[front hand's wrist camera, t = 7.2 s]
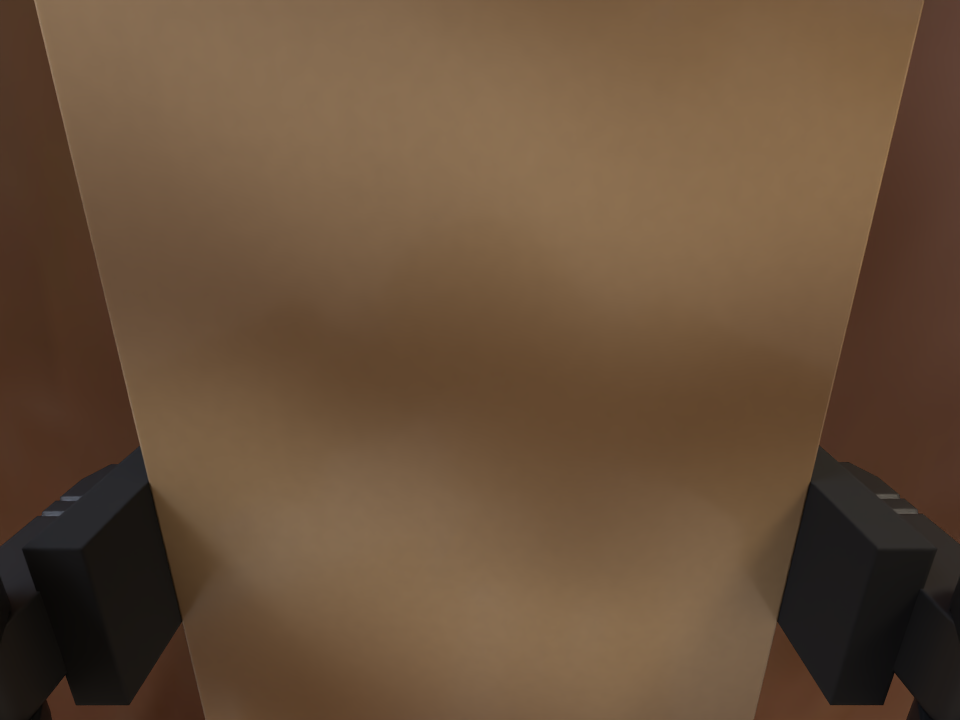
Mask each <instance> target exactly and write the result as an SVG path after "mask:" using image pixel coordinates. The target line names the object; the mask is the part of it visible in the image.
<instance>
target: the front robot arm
mask: <svg viewBox="0 0 960 720" xmlns="http://www.w3.org/2000/svg"><path fill="white" fill-rule="evenodd" d="M181 622H182V619H181V615H180V611H179V606H178V602H177V598H176V594H175V590H174V585H173V581H172V577H171V573H170V569H169V564H168V560H167V556H166V552H165V548H164V543H163V539H162V535H161V531H160V527H159V522H158V518H157V514H156V510H155V506H154V501H153V497H152V493H151V489H150V485H149V480H148V476H147V472H146V468H145V464H144V459H143V455H142V451H141V447H140V446H139V447H138V448H137V449H136V450H134V451H133V452H132V453H131V454H130V455H129V456H128V457H126V458H125V459H124V460H123V461H122V462H121V463H119V464H111V465H109V466H107V467H105V468H103V469H101V470H99V471H97V472H95V473H93V474H91V475H89V476H87V477H86V478H84V479H82V480H81V481H79V482H78V483H77V484H76V485H74V486H73V487H72V488H71V489H70V490H68V491H67V492H66V493H65V494H64V495H62V496H61V497H60V501H55V502H54V503H53V504H51V505H50V506H49V507H48V508H47V509H45V510H44V511H43V512H42V516H37V517H36V518H35V519H33V520H32V521H31V522H30V523H28V524H27V525H26V526H25V527H24V528H22V529H21V530H20V531H19V532H18V533H16V534H15V535H14V536H13V537H12V538H10V539H9V540H8V541H7V542H5V543H4V544H3V545H2V546H1V547H0V720H52V718H51V712H50V709H49V706H48V703H47V701H46V699H47V697H48V696H49V695H50V694H51V692H52V691H53V690H54V689H55V687H56V686H57V685H58V684H59V682H60V681H61V680H62V679H63V677H64V676H65V675H66V678H67V681H68V684H69V687H70V689H71V692H72V695H73V698H74V701H75V704H76V705H129V704H130V703H131V701H132V700H133V698H134V697H135V695H136V693H137V692H138V690H139V689H140V687H141V685H142V684H143V682H144V681H145V679H146V678H147V676H148V674H149V673H150V671H151V670H152V668H153V666H154V665H155V663H156V662H157V660H158V659H159V657H160V655H161V654H162V652H163V651H164V649H165V647H166V646H167V644H168V643H169V641H170V640H171V638H172V636H173V635H174V633H175V632H176V630H177V628H178V627H179V625H180V624H181ZM777 622H778V623H779V625H780V626H781V628H782V629H783V631H784V633H785V634H786V636H787V637H788V639H789V641H790V642H791V644H792V645H793V647H794V648H795V650H796V652H797V653H798V655H799V656H800V658H801V660H802V661H803V663H804V664H805V666H806V667H807V669H808V671H809V672H810V674H811V675H812V677H813V679H814V680H815V682H816V683H817V685H818V686H819V688H820V690H821V691H822V693H823V694H824V696H825V697H826V699H827V701H828V702H829V704H830V705H884V702H885V699H886V696H887V693H888V690H889V687H890V684H891V681H892V679H893V676H894V673H895V674H896V675H897V676H898V677H899V679H900V680H901V681H902V682H903V684H904V685H905V686H906V687H907V689H908V690H909V691H910V693H911V694H912V695H913V696H914V701H913V703H912V706H911V709H910V711H909V714H908V717H907V719H906V720H960V544H959V543H957V542H956V541H955V540H954V539H953V538H951V537H950V536H949V535H948V534H946V533H945V532H944V531H943V530H942V529H940V528H939V527H938V526H937V525H936V524H934V523H933V522H932V521H931V520H929V519H928V518H927V517H926V516H925V515H923V514H918V510H917V509H916V508H915V507H914V506H912V505H911V504H910V503H909V502H907V501H906V500H905V499H900V495H899V494H898V493H897V492H895V491H894V490H893V489H892V488H890V487H889V486H888V485H887V484H886V483H884V482H883V481H882V480H881V479H879V478H878V477H876V476H874V475H872V474H871V473H869V472H867V471H865V470H863V469H861V468H859V467H857V466H855V465H853V464H851V463H849V462H838V461H836V460H835V459H834V458H833V457H832V456H831V455H830V454H828V453H827V452H826V451H825V450H824V449H823V448H821V447H820V446H819V447H818V451H817V456H816V460H815V464H814V468H813V473H812V477H811V481H810V485H809V489H808V494H807V498H806V502H805V506H804V510H803V515H802V519H801V523H800V527H799V532H798V536H797V540H796V544H795V548H794V553H793V557H792V561H791V565H790V570H789V574H788V578H787V582H786V586H785V591H784V595H783V599H782V603H781V607H780V612H779V616H778V620H777Z"/></svg>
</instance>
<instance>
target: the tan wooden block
mask: <svg viewBox="0 0 960 720" xmlns="http://www.w3.org/2000/svg"><path fill="white" fill-rule="evenodd" d="M34 2H35V6H36V10H37V14H38V18H39V23H40V27H41V31H42V35H43V39H44V44H45V48H46V52H47V56H48V60H49V65H50V69H51V73H52V77H53V81H54V86H55V90H56V94H57V98H58V102H59V107H60V111H61V115H62V119H63V123H64V128H65V132H66V136H67V140H68V144H69V149H70V153H71V157H72V161H73V165H74V170H75V174H76V178H77V182H78V186H79V191H80V195H81V199H82V203H83V207H84V212H85V216H86V220H87V224H88V228H89V233H90V237H91V241H92V245H93V249H94V254H95V258H96V262H97V266H98V270H99V275H100V279H101V283H102V287H103V291H104V296H105V300H106V304H107V308H108V312H109V317H110V321H111V325H112V329H113V333H114V338H115V342H116V346H117V350H118V354H119V359H120V363H121V367H122V371H123V375H124V380H125V384H126V388H127V392H128V396H129V401H130V405H131V409H132V413H133V417H134V422H135V426H136V430H137V434H138V438H139V443H140V447H141V451H142V455H143V459H144V464H145V468H146V472H147V476H148V480H149V485H150V489H151V493H152V497H153V501H154V506H155V510H156V514H157V518H158V522H159V527H160V531H161V535H162V539H163V543H164V548H165V552H166V556H167V560H168V564H169V569H170V573H171V577H172V581H173V585H174V590H175V594H176V598H177V602H178V606H179V611H180V615H181V619H182V623H183V627H184V632H185V636H186V640H187V644H188V648H189V653H190V657H191V661H192V665H193V669H194V674H195V678H196V682H197V686H198V690H199V695H200V699H201V703H202V707H203V711H204V716H205V720H754V717H755V713H756V709H757V705H758V700H759V696H760V692H761V688H762V683H763V679H764V675H765V671H766V667H767V662H768V658H769V654H770V650H771V645H772V641H773V637H774V633H775V629H776V624H777V620H778V616H779V612H780V607H781V603H782V599H783V595H784V591H785V586H786V582H787V578H788V574H789V570H790V565H791V561H792V557H793V553H794V548H795V544H796V540H797V536H798V532H799V527H800V523H801V519H802V515H803V510H804V506H805V502H806V498H807V494H808V489H809V485H810V481H811V477H812V473H813V468H814V464H815V460H816V456H817V451H818V447H819V443H820V439H821V435H822V430H823V426H824V422H825V418H826V413H827V409H828V405H829V401H830V397H831V392H832V388H833V384H834V380H835V375H836V371H837V367H838V363H839V359H840V354H841V350H842V346H843V342H844V338H845V333H846V329H847V325H848V321H849V316H850V312H851V308H852V304H853V300H854V295H855V291H856V287H857V283H858V278H859V274H860V270H861V266H862V262H863V257H864V253H865V249H866V245H867V241H868V236H869V232H870V228H871V224H872V219H873V215H874V211H875V207H876V203H877V198H878V194H879V190H880V186H881V181H882V177H883V173H884V169H885V165H886V160H887V156H888V152H889V148H890V143H891V139H892V135H893V131H894V127H895V122H896V118H897V114H898V110H899V106H900V101H901V97H902V93H903V89H904V84H905V80H906V76H907V72H908V68H909V63H910V59H911V55H912V51H913V46H914V42H915V38H916V34H917V30H918V25H919V21H920V17H921V13H922V9H923V4H924V0H34Z"/></svg>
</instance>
